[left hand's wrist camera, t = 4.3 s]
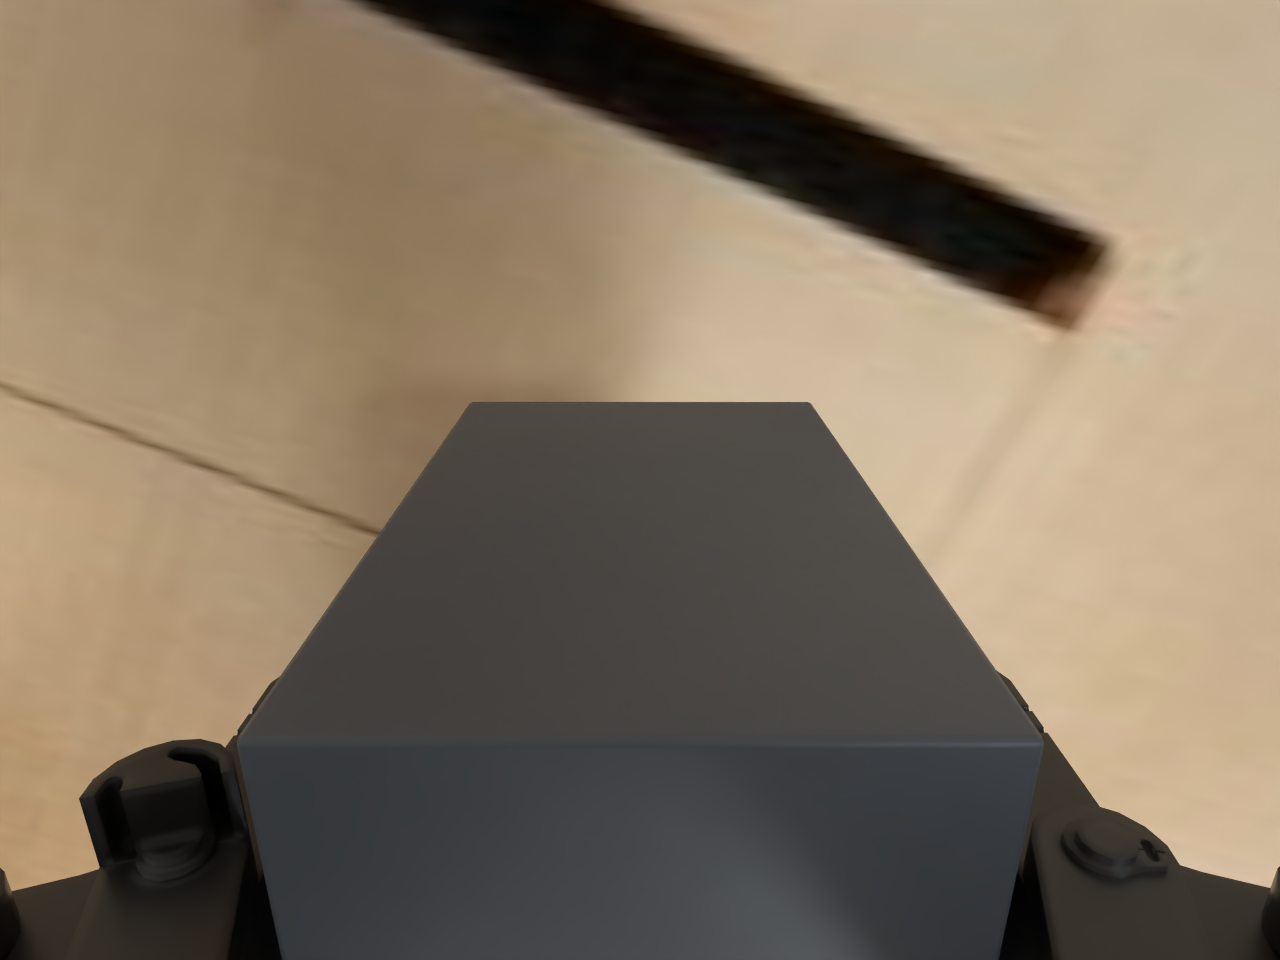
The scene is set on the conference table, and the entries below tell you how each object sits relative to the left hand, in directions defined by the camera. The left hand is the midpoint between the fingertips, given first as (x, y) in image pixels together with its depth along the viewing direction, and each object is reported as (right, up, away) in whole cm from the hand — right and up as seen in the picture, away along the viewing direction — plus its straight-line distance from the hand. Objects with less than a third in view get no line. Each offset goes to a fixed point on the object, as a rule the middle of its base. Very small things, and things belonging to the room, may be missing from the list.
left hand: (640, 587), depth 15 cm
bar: (0, -8, +4) cm, 9 cm away
